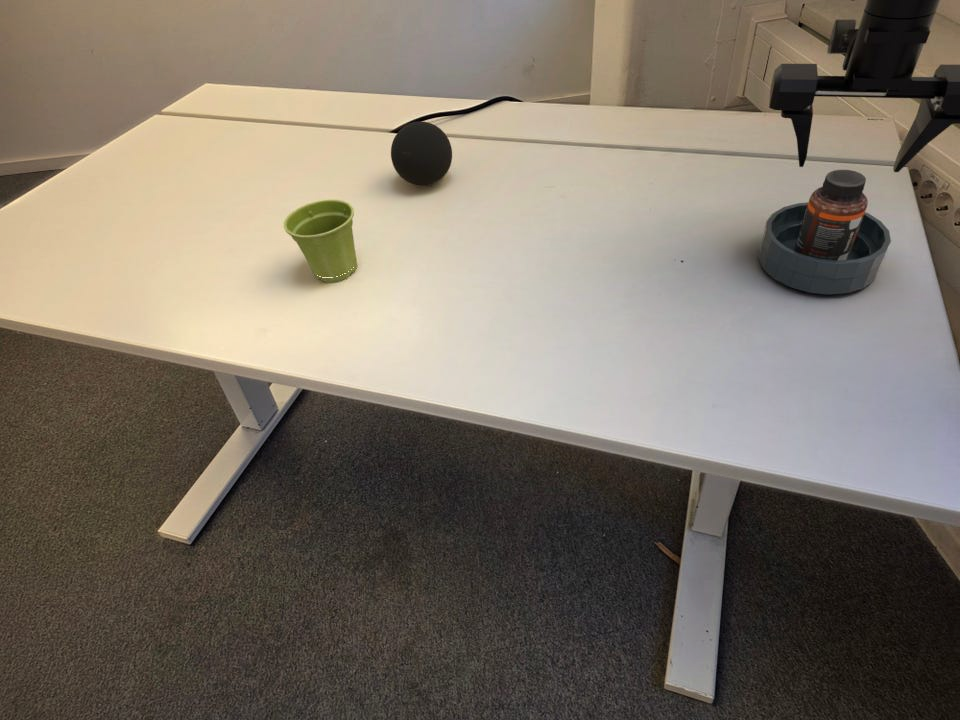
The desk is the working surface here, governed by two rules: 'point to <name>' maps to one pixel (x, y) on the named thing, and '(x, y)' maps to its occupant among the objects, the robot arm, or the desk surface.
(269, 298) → the desk surface
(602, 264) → the desk surface
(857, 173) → the supplement bottle
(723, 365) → the desk surface
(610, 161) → the desk surface
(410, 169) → the speaker
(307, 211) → the plant pot
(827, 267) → the bowl
